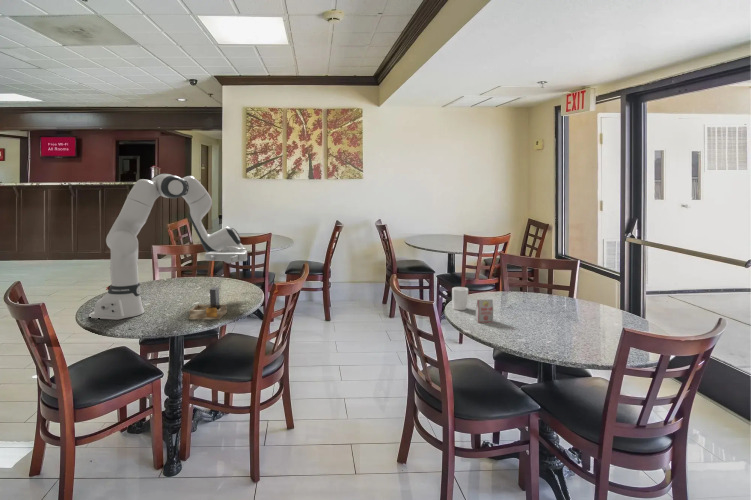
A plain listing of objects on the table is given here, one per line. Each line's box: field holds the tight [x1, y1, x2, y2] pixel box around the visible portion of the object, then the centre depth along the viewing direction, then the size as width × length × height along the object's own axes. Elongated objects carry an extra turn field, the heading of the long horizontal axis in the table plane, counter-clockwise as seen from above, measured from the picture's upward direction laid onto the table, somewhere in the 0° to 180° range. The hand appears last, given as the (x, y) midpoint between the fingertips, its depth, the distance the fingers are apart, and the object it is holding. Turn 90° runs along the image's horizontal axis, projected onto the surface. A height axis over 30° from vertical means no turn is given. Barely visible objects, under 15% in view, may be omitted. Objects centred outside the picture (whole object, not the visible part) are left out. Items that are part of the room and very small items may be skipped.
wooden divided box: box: [188, 304, 228, 320], centre depth 212 cm, size 14×12×5 cm
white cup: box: [451, 286, 469, 311], centre depth 227 cm, size 8×8×10 cm
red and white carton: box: [475, 299, 494, 324], centre depth 207 cm, size 4×7×10 cm, turn 95°
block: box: [209, 286, 220, 310], centre depth 212 cm, size 2×5×12 cm, turn 2°
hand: (222, 258), depth 223 cm, fingers open, 8 cm apart
